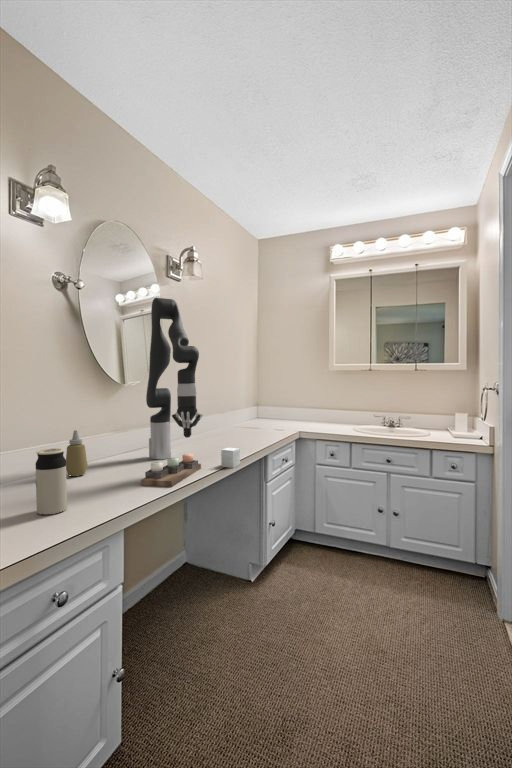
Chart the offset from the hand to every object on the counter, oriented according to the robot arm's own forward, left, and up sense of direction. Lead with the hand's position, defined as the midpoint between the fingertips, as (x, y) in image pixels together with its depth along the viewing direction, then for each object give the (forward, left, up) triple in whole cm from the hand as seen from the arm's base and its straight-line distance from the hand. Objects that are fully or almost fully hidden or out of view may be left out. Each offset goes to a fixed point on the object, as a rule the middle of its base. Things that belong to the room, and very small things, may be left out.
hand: (187, 437), depth 163 cm
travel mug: (-21, -52, -14) cm, 58 cm away
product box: (+14, +13, -14) cm, 24 cm away
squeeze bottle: (-42, -14, -14) cm, 46 cm away
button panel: (-3, -8, -14) cm, 16 cm away
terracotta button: (0, 0, -10) cm, 10 cm away
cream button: (-6, -16, -10) cm, 20 cm away
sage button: (-3, -8, -10) cm, 13 cm away
